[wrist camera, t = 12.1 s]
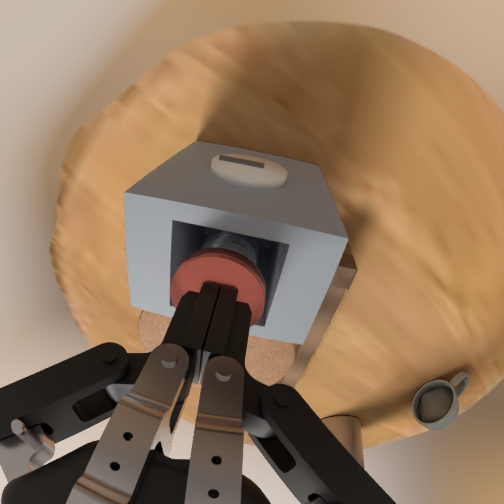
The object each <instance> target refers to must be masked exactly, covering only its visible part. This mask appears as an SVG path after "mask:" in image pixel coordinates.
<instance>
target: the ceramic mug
mask: <svg viewBox="0 0 504 504" xmlns="http://www.w3.org/2000/svg"><path fill="white" fill-rule="evenodd" d="M460 382H461V383H460ZM468 382H469V375H468V374H467V373H466V372H464V371H461V372H459V373H458V374H456V375H455V376H454V377H453V378H452V379H451V380H450V381H449V382H448V381H445V380H440V379H438V380H433V381H430V382H428V383H426V384H425V385H423V386H422V387H421V388H420V389H419V390H418V391H417V393H416V394H415V396H414V399H413V402H412V413H413V416H414V418H415V419H416V420H417V422H419V423H420V424H422V425H423V426H425V427H426V428H428V429H430V430H442V429H445V428H447V427H448V426H450V425H451V424H452V423H453V422H454V420H455V419H456V417H457V415H458V412H459V401H458V397H459V396H460V395H461V393H462V392H463V391H464V389H465V388H466V386H467V384H468ZM459 383H460V384H459ZM458 384H459V386H458V387H457V388H456V390H455V389H454V388H455V387H456V386H457V385H458Z"/></svg>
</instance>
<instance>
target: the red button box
mask: <svg viewBox="0 0 504 504" xmlns="http://www.w3.org/2000/svg"><path fill="white" fill-rule="evenodd" d="M124 204H125V238H126V256H127V270H128V281H129V291H130V301H131V307H134V308H138V309H141V310H145V311H148V312H152V313H156V314H160V315H163V316H167V317H171V318H172V317H173V315H174V312H175V310H176V309H175V307H174V305H173V303H172V300H171V297H170V285H171V281H172V279H173V277H174V275H175V273H176V271H177V269H178V267H179V265H180V264H181V262H182V261H183V260H184V259H185V258H186V257H187V256H188V255H189V254H191V253H193V252H195V251H197V250H200V249H202V247H203V244H204V242H205V240H206V238H207V236H208V234H209V232H210V229H211V228H215V229H220V230H224V231H229V232H234V233H239V234H243V235H248V236H253V237H258V238H260V245H259V252H258V259H257V265H256V266H257V267H258V268H259V270H260V271H261V273H262V275H263V277H264V280H265V284H266V295H265V305H264V311H263V313H262V316H261V317H260V319H259V320H258V321H257V322H256V323H255V324H254V325H253V326H252V327H250V330H249V335H251V336H256V337H261V338H266V339H272V340H278V341H283V342H289V343H295V344H301V345H303V343H304V341H305V338H306V336H307V334H308V332H309V330H310V328H311V326H312V324H313V322H314V319H315V317H316V315H317V313H318V311H319V308H320V306H321V304H322V302H323V299H324V297H325V295H326V293H327V290H328V288H329V286H330V283H331V281H332V279H333V276H334V274H335V272H336V269H337V267H338V264H339V262H340V259H341V257H342V254H343V252H344V249H345V247H346V244H347V242H348V239H349V238H348V236H347V233H346V230H345V228H344V225H343V223H342V220H341V217H340V215H339V212H338V210H337V207H336V205H335V202H334V200H333V198H332V195H331V193H330V190H329V188H328V186H327V183H326V181H325V179H324V176H323V174H322V172H321V170H320V167H319V166H318V165H314V164H310V163H306V162H302V161H298V160H294V159H290V158H285V157H281V156H276V155H272V154H267V153H262V152H258V151H253V150H248V149H242V148H237V147H232V146H226V145H220V144H214V143H208V142H202V141H195V142H193V143H192V144H190V145H189V146H187V147H186V148H184V149H183V150H181V151H180V152H178V153H177V154H175V155H174V156H173V157H171V158H170V159H168V160H167V161H165V162H164V163H163V164H161V165H160V166H158V167H157V168H156V169H154V170H153V171H152V172H150V173H149V174H148V175H146V176H145V177H144V178H142V179H141V180H140V181H138V182H137V183H136V184H134V185H133V186H132V187H131V188H129V189H128V190H127V191H125V192H124Z"/></svg>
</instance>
